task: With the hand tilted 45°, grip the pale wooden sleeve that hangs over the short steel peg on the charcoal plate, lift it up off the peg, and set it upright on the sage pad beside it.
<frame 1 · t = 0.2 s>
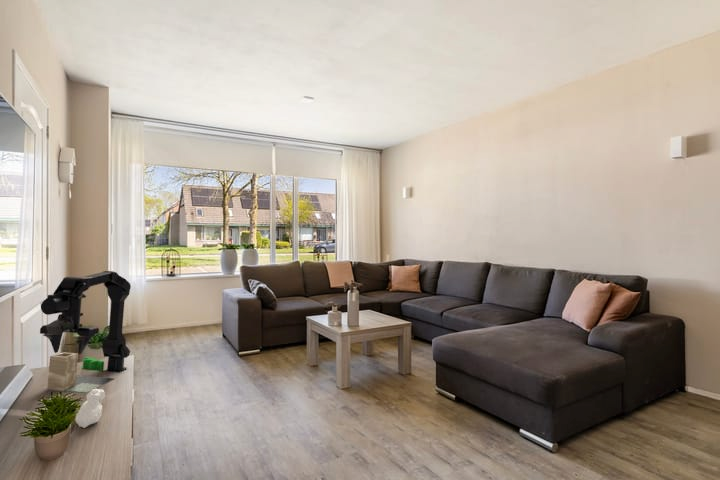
hand: (68, 353, 147), 15 cm above the tv stand, tool pointing down, fingers open, 9 cm apart
bust: (89, 423, 126), on the tv stand
peg plate: (80, 387, 153), on the tv stand
green block: (90, 370, 173), on the tv stand
sleeve: (61, 387, 148), point 1 cm above the tv stand, touching peg plate
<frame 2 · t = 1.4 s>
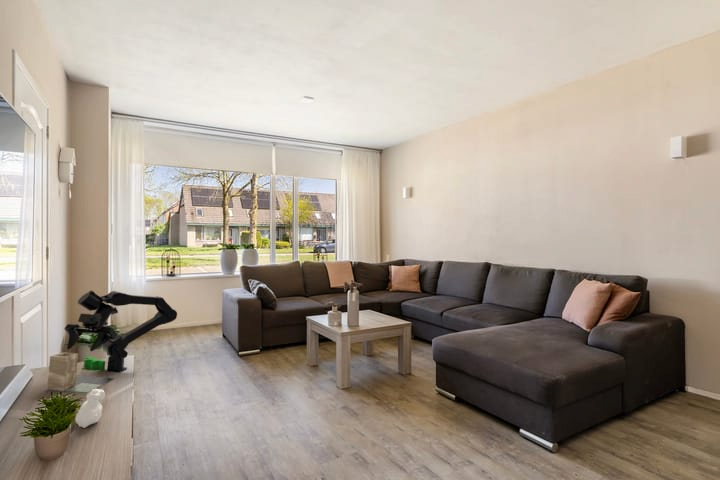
hand: (79, 349, 157), 13 cm above the tv stand, tool tilted 45°, fingers open, 9 cm apart
nothing on the tv stand moved.
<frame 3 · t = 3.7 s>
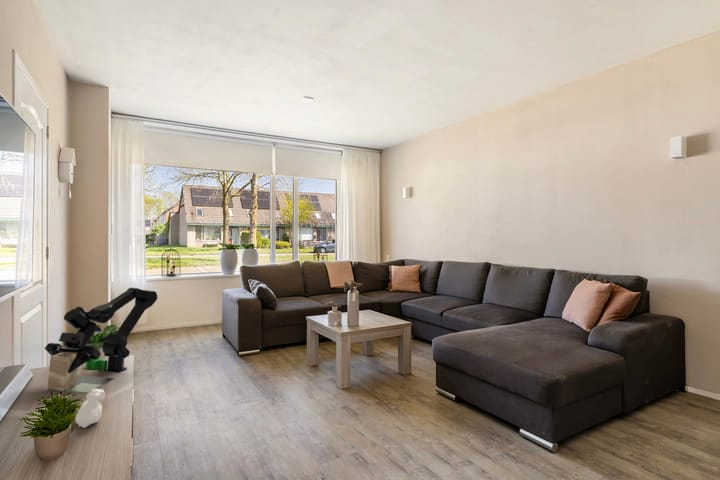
hand: (59, 371, 147), 8 cm above the tv stand, tool tilted 45°, fingers closed on sleeve, 6 cm apart
sleeve: (61, 386, 148), point 2 cm above the tv stand, touching gripper, peg plate
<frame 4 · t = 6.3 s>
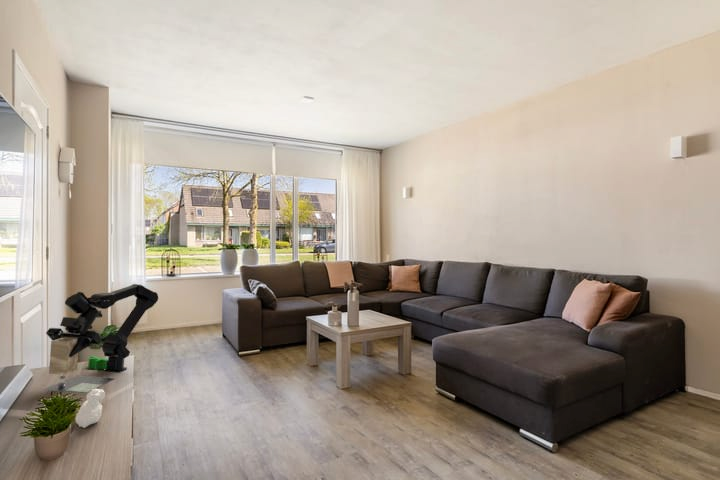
hand: (61, 355, 147), 13 cm above the tv stand, tool tilted 45°, fingers closed on sleeve, 6 cm apart
sleeve: (63, 371, 149), point 7 cm above the tv stand, touching gripper
when the fingers open (9 cm above the tv stand, at t = 8.7 s): sleeve stays where it is, resting on peg plate.
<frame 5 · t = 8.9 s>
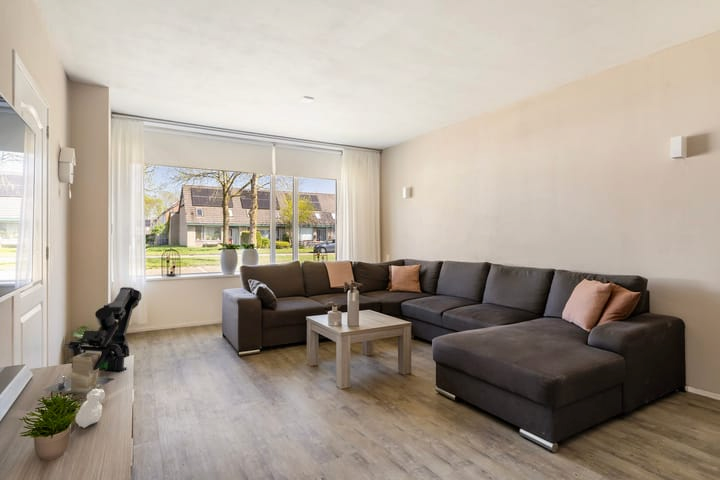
hand: (83, 369, 148), 9 cm above the tv stand, tool tilted 45°, fingers open, 8 cm apart
sleeve: (84, 387, 149), point 2 cm above the tv stand, touching peg plate
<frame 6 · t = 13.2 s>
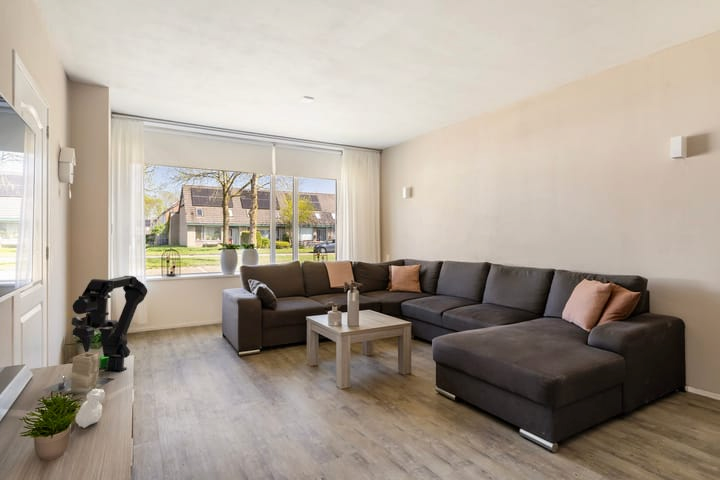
hand: (94, 348, 161), 13 cm above the tv stand, tool pointing down, fingers open, 9 cm apart
green block: (100, 367, 178), on the tv stand
everything else where it was.
at the end: sleeve 0.1 cm from the target spot on the peg plate, point 1.7 cm above the peg plate's base; sleeve tilted 0°; the gripper is holding nothing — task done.
